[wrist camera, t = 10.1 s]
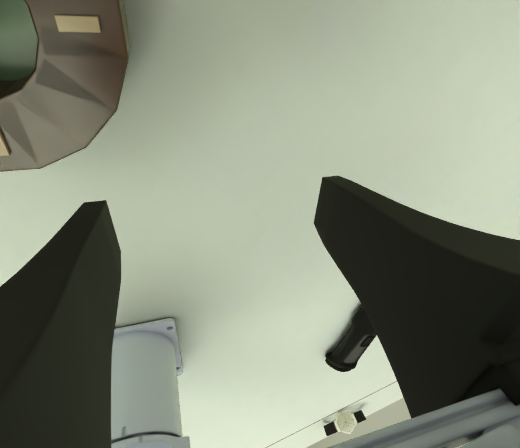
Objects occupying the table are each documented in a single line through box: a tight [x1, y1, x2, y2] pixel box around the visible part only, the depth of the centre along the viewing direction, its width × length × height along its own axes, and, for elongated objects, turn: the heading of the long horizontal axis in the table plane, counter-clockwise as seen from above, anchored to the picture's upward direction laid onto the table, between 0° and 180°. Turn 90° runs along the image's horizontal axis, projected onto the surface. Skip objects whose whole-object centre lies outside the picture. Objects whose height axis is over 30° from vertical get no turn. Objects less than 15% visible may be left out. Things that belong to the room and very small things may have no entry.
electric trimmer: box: [325, 307, 377, 372], centre depth 38 cm, size 4×16×3 cm, turn 163°
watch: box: [324, 410, 366, 436], centre depth 57 cm, size 8×5×4 cm, turn 102°
